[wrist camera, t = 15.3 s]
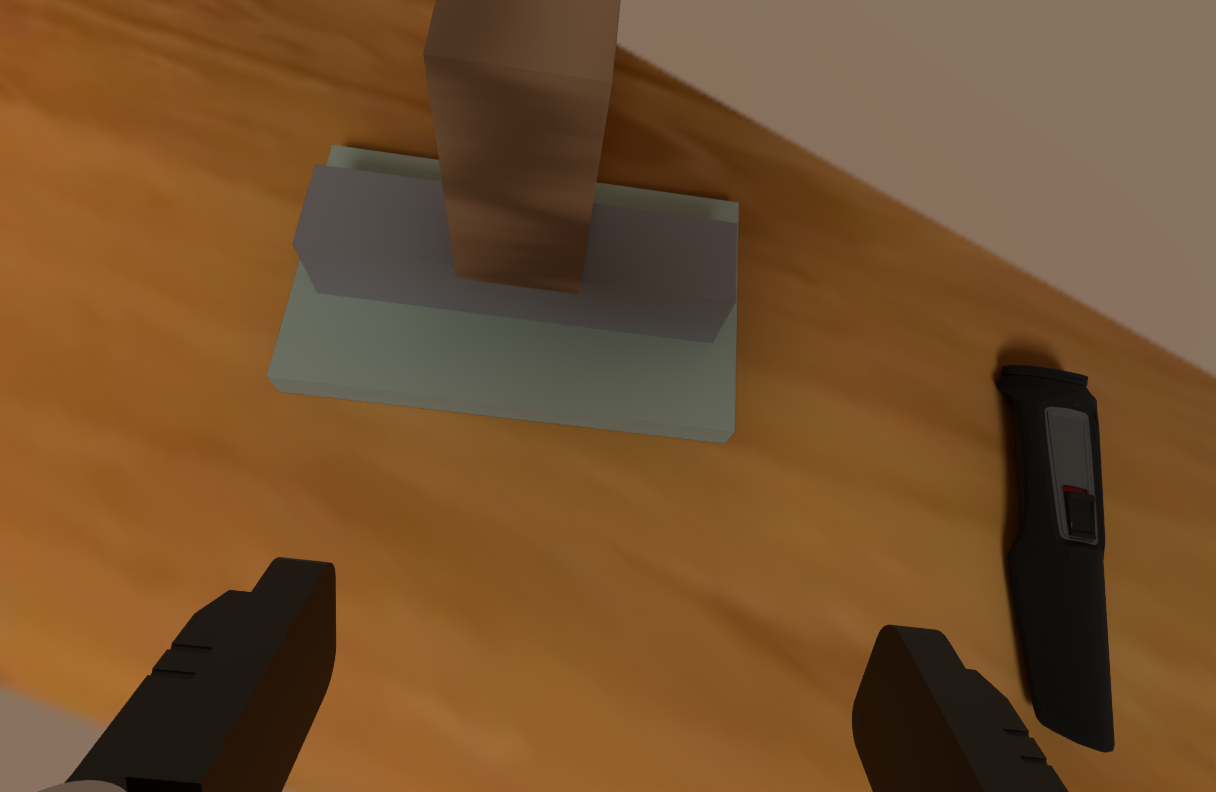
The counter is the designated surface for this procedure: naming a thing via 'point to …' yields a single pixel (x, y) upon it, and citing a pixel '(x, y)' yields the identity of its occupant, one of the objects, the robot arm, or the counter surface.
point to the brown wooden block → (520, 132)
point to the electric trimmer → (1061, 553)
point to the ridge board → (509, 348)
